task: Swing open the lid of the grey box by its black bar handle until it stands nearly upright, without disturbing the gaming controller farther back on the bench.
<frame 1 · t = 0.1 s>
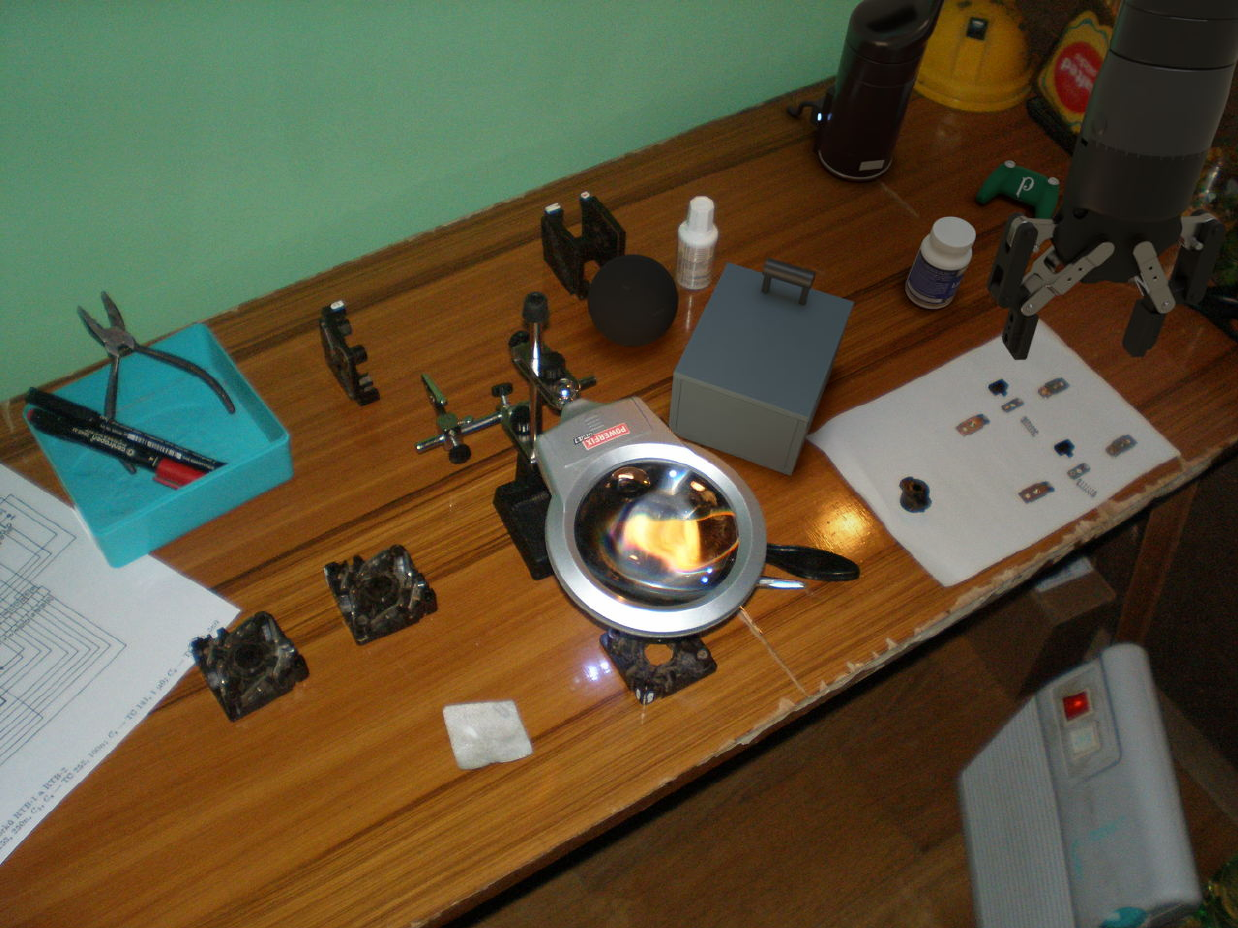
hand: (1073, 353, 71), 31 cm above the table, tool tilted 20°, fingers open, 8 cm apart
grey box: (751, 401, 107), on the table
pill bottle: (928, 293, 116), on the table
lid: (768, 324, 96), point 13 cm above the table, hinge at 0.0°
black ball: (631, 331, 112), on the table
gaming controller: (1015, 204, 124), on the table
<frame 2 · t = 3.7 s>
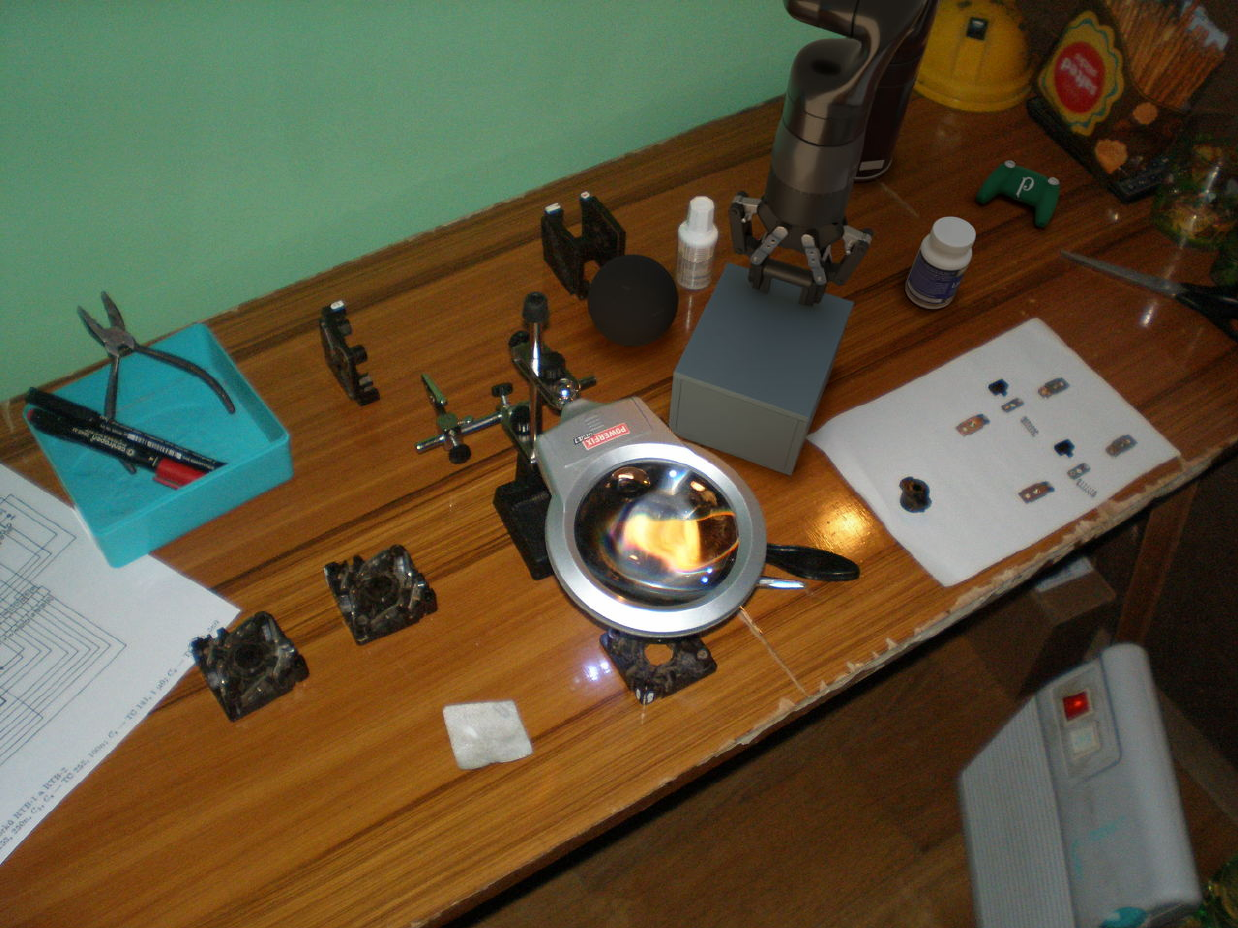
hand: (784, 291, 100), 12 cm above the table, tool pointing down, fingers closed on lid, 5 cm apart
lid: (768, 324, 96), point 12 cm above the table, hinge at 0.0°, touching gripper
everything else where it was.
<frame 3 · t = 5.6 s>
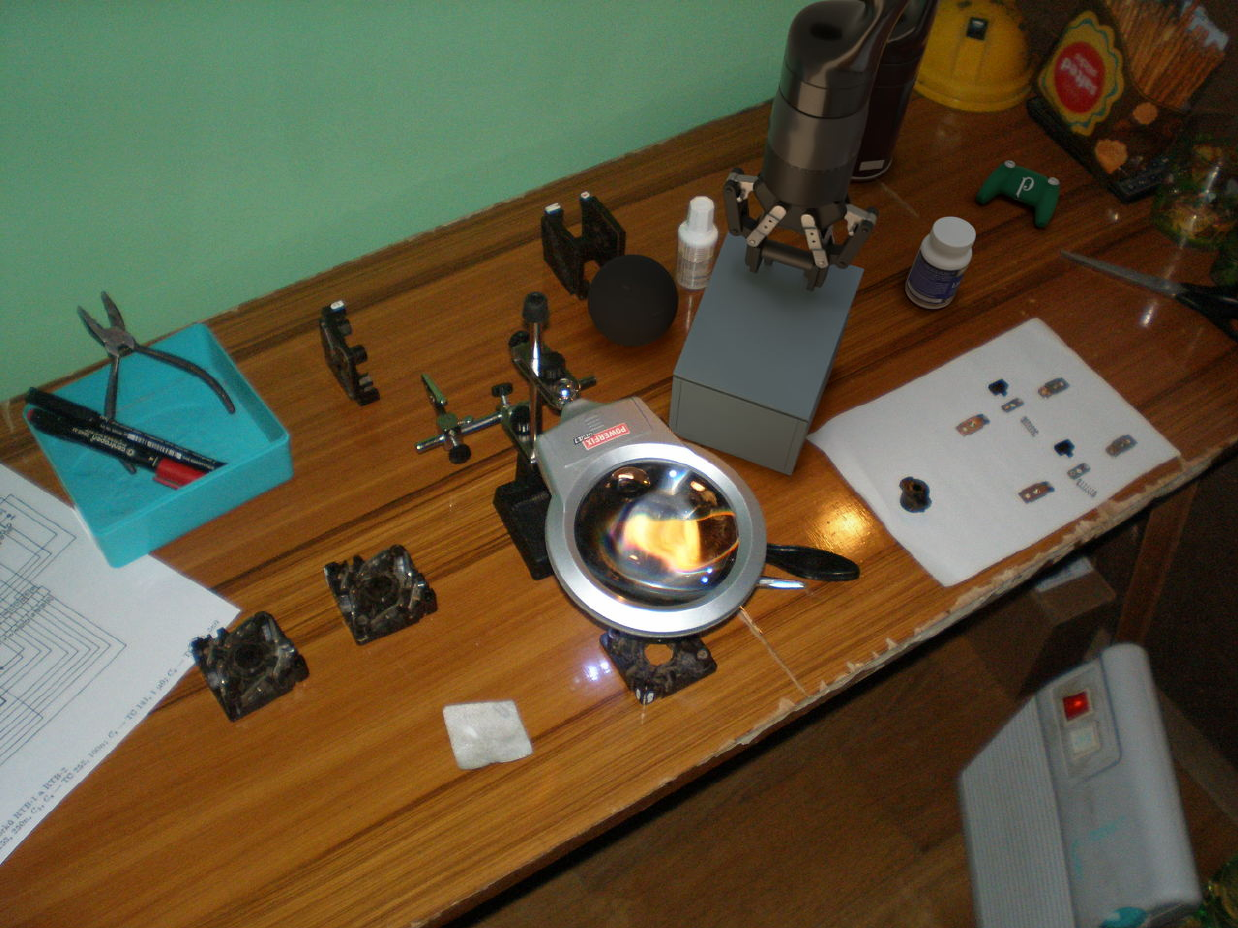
hand: (783, 274, 94), 17 cm above the table, tool pointing down, fingers closed on lid, 5 cm apart
lid: (768, 315, 93), point 16 cm above the table, hinge at 24.3°, touching gripper
everything else where it was.
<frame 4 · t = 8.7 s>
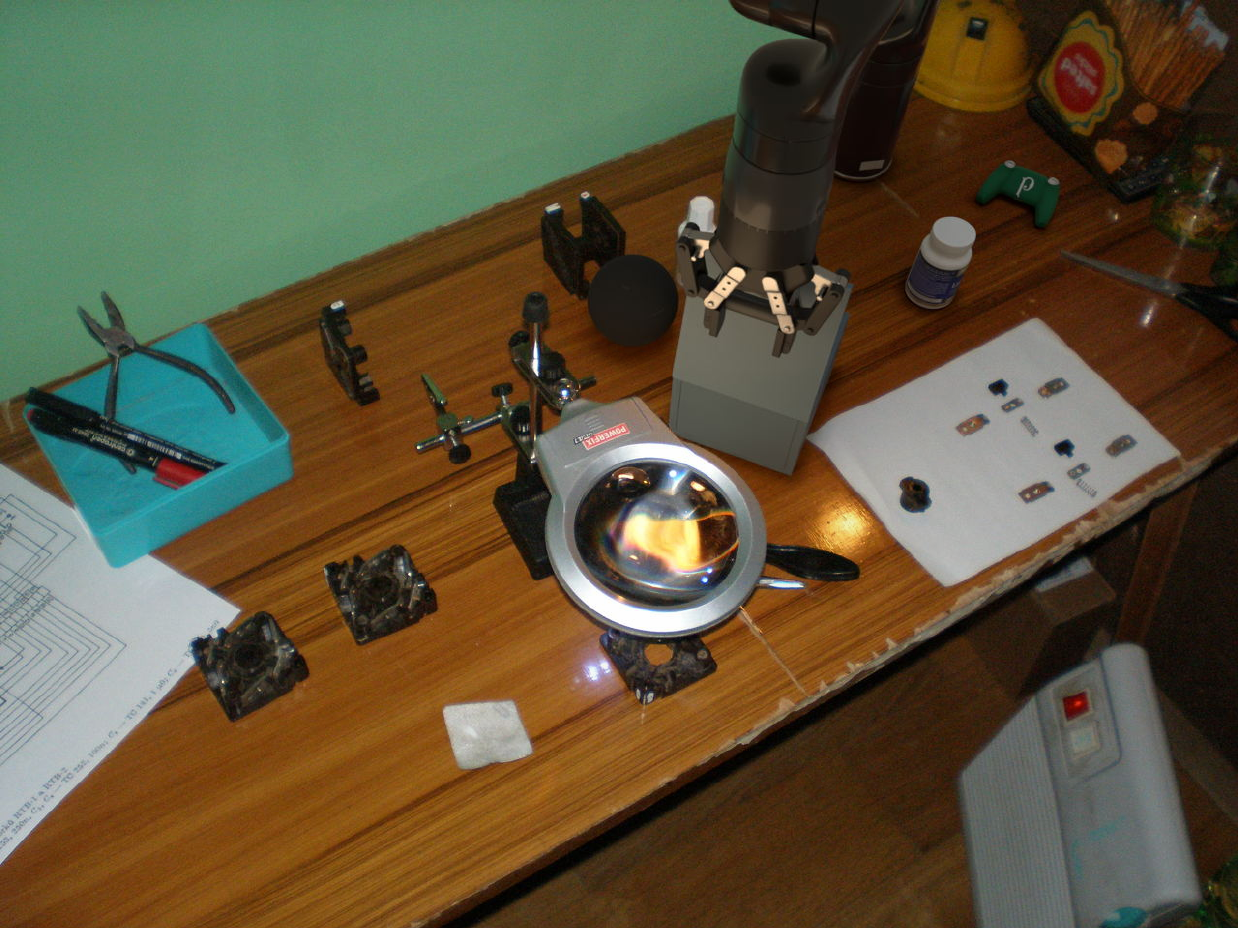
hand: (747, 338, 84), 22 cm above the table, tool pointing down, fingers closed on lid, 5 cm apart
lid: (749, 347, 87), point 18 cm above the table, hinge at 77.8°, touching gripper
everything else where it was.
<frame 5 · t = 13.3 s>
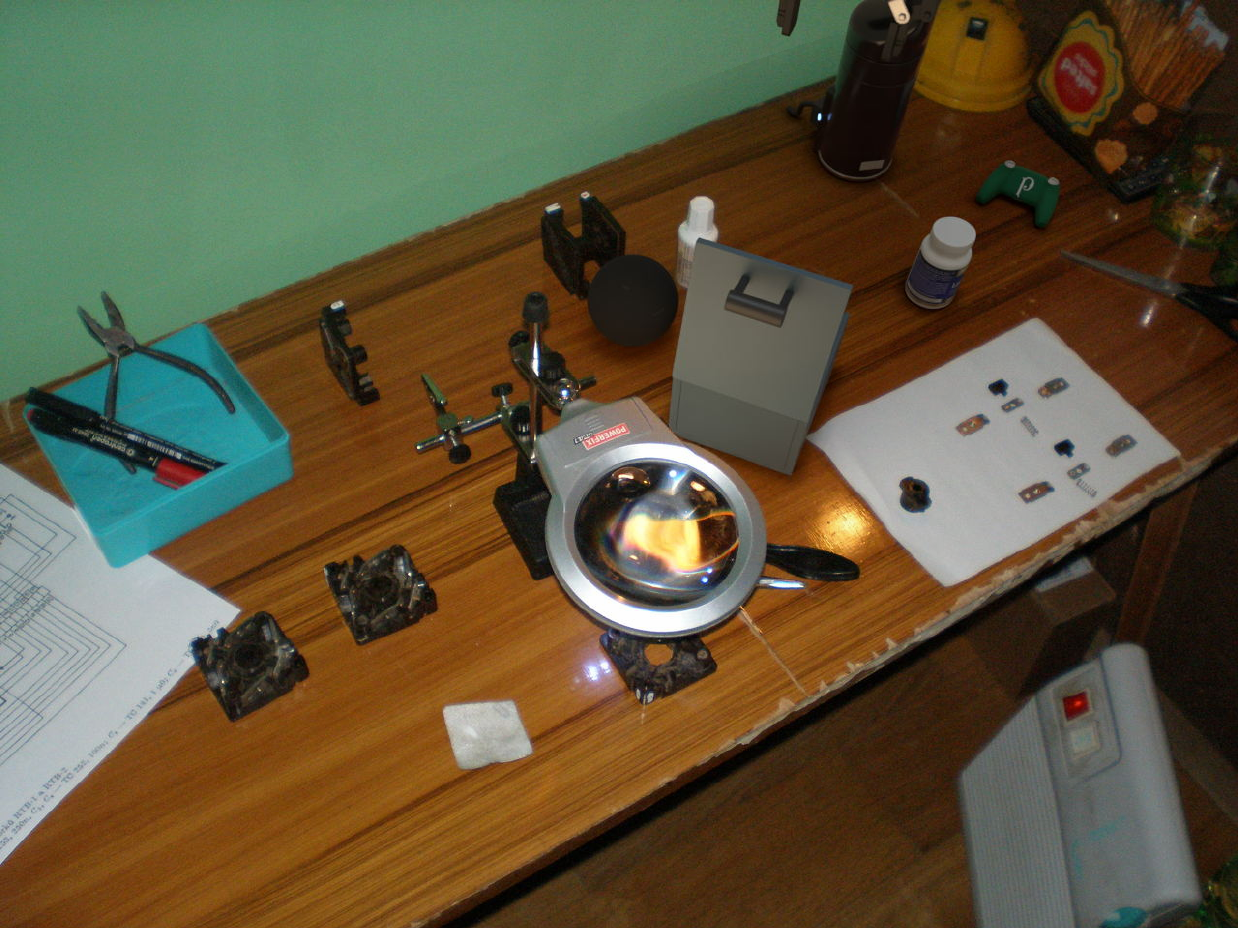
hand: (837, 43, 82), 36 cm above the table, tool pointing down, fingers open, 8 cm apart
lid: (748, 348, 87), point 18 cm above the table, hinge at 78.3°
everything else where it was.
at the end: lid at +78° (first picture: +0°); gaming controller moved 0.2 cm from its start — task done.
